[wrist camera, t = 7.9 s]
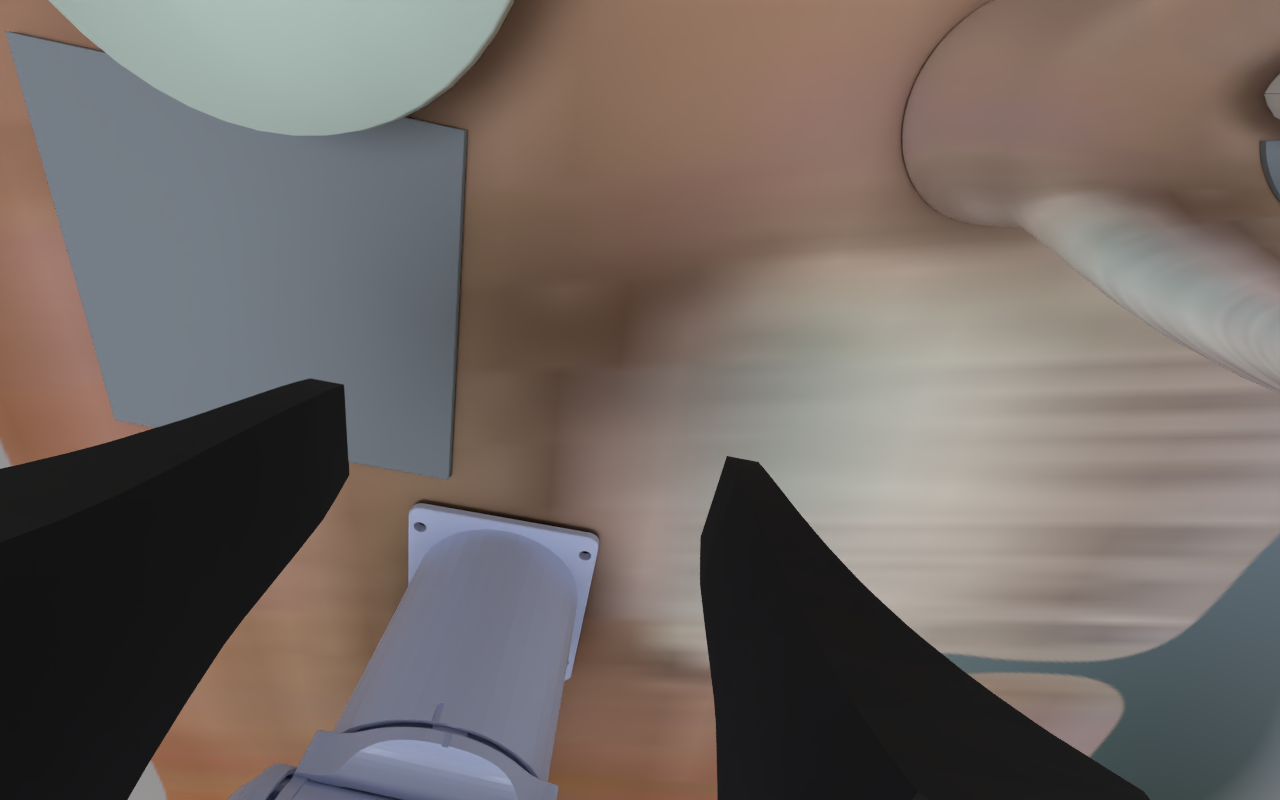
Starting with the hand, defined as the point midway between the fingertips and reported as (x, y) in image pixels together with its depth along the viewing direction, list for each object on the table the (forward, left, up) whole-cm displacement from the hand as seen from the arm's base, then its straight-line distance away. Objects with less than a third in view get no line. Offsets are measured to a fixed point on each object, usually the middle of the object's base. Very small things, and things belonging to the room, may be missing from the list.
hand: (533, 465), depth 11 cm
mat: (-2, +11, -10) cm, 15 cm away
